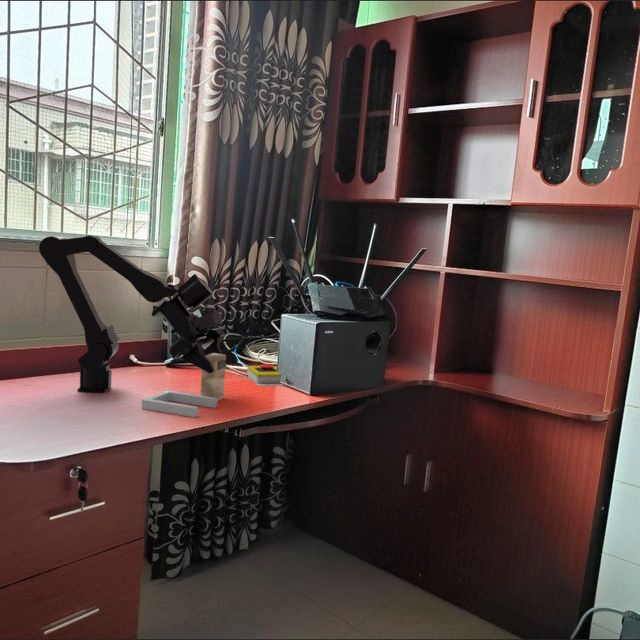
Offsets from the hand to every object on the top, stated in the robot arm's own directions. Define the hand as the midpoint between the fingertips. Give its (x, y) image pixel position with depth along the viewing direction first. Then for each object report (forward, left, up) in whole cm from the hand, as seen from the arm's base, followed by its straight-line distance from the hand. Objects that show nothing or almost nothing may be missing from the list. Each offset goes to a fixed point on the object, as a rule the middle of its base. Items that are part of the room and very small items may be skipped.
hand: (218, 369), depth 150 cm
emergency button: (+12, +25, -8) cm, 29 cm away
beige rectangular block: (-1, +1, -8) cm, 8 cm away
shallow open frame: (-8, -8, -7) cm, 14 cm away
